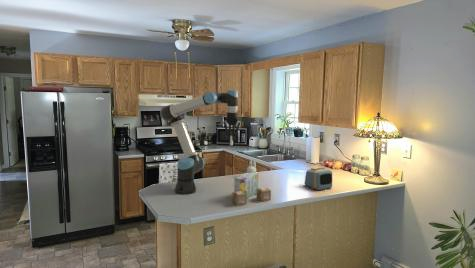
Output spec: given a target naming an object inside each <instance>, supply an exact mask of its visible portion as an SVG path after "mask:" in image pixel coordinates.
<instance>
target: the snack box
mask: <svg viewBox="0 0 475 268" xmlns="http://www.w3.org/2000/svg"><path fill="white" fill-rule="evenodd" d="M233 179H234V180H233V181H234V184H233V192H237V191H243V192H245V193H246V194H247V198H249V197H252V196H254V195H257V188H259V173H258V172H256V173H254V172H252V173H249V174H246V175H242V174H241V175H239V176H236V177H234V178H233Z"/></svg>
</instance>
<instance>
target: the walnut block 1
mask: <svg viewBox="0 0 475 268" xmlns="http://www.w3.org/2000/svg"><path fill="white" fill-rule="evenodd" d="M231 199H232V201H231V202H232V203H233V204H234V205H235V206H238V205H239V206H244V205H245V204H246V205H247V204H248V203H247V202H248V201H247V200H248V197H247V194H246V193H245V192H243V191H237V192H234V191H232V198H231Z"/></svg>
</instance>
